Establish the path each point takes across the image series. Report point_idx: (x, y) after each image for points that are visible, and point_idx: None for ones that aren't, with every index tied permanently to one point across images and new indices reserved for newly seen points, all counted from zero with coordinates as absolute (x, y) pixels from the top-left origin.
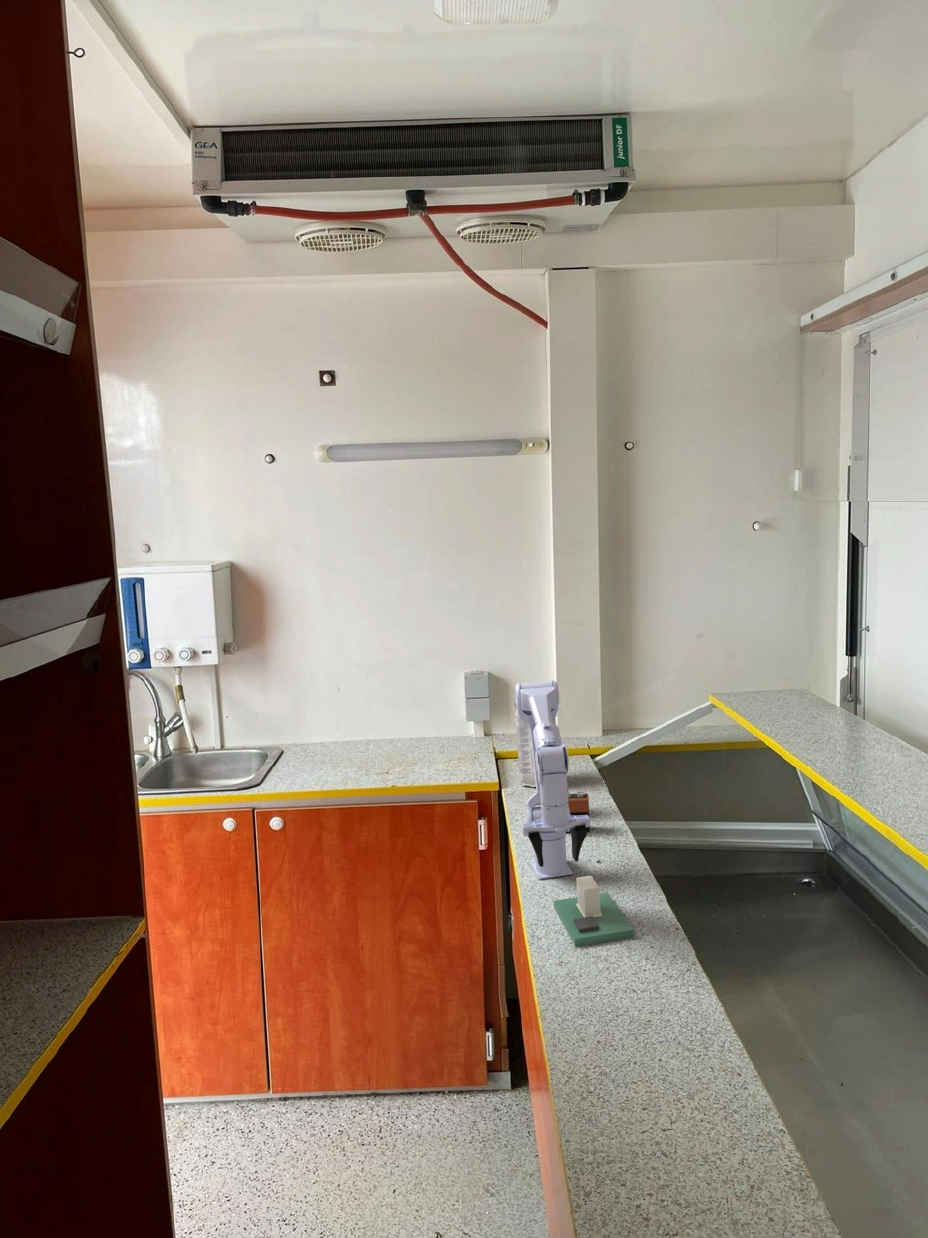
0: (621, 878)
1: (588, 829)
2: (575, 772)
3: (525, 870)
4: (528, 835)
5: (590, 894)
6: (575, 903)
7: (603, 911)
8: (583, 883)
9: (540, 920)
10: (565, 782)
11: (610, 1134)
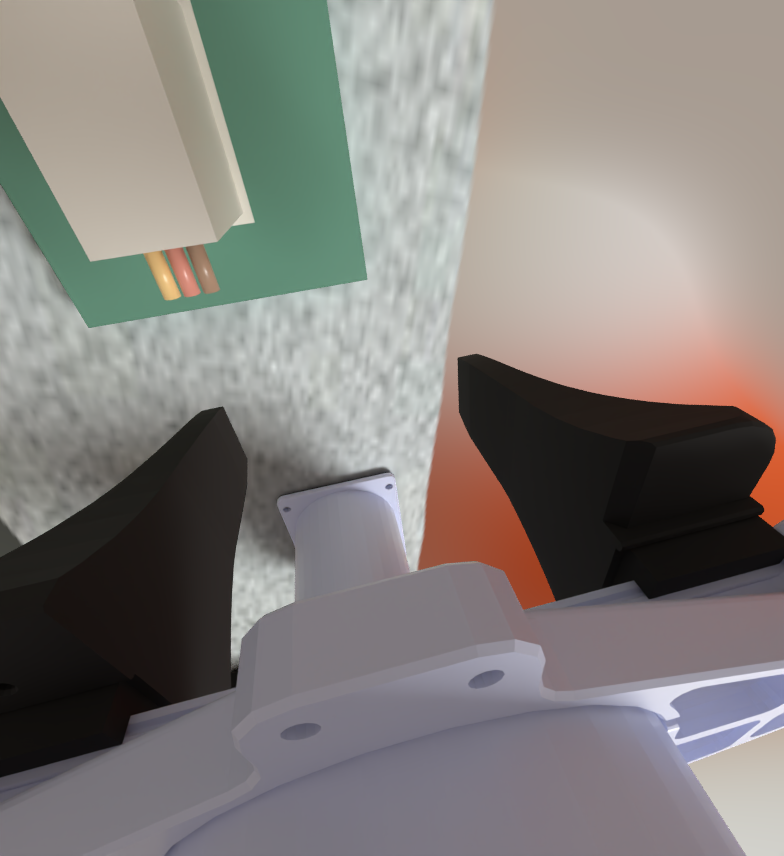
0: (76, 474)
1: (231, 680)
2: None
3: (423, 519)
4: (782, 526)
5: None
6: (257, 231)
7: None
8: (134, 102)
9: (439, 149)
10: None
11: None
